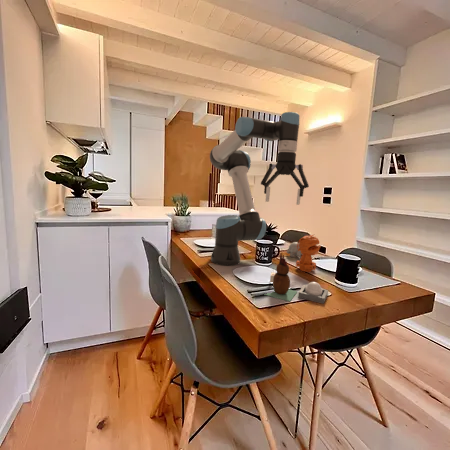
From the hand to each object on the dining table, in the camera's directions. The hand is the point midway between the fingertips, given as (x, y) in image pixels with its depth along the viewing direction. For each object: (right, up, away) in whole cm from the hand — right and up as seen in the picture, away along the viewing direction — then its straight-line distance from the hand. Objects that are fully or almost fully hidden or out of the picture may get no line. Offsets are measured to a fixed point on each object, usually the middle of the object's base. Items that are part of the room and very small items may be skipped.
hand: (282, 203), depth 114 cm
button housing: (+8, -36, -15) cm, 40 cm away
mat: (-4, -35, -14) cm, 38 cm away
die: (-4, -34, -4) cm, 34 cm away
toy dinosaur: (+15, -32, +16) cm, 38 cm away
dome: (+8, -37, -15) cm, 41 cm away
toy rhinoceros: (+16, -28, +36) cm, 49 cm away
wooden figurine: (-4, -35, -14) cm, 38 cm away
